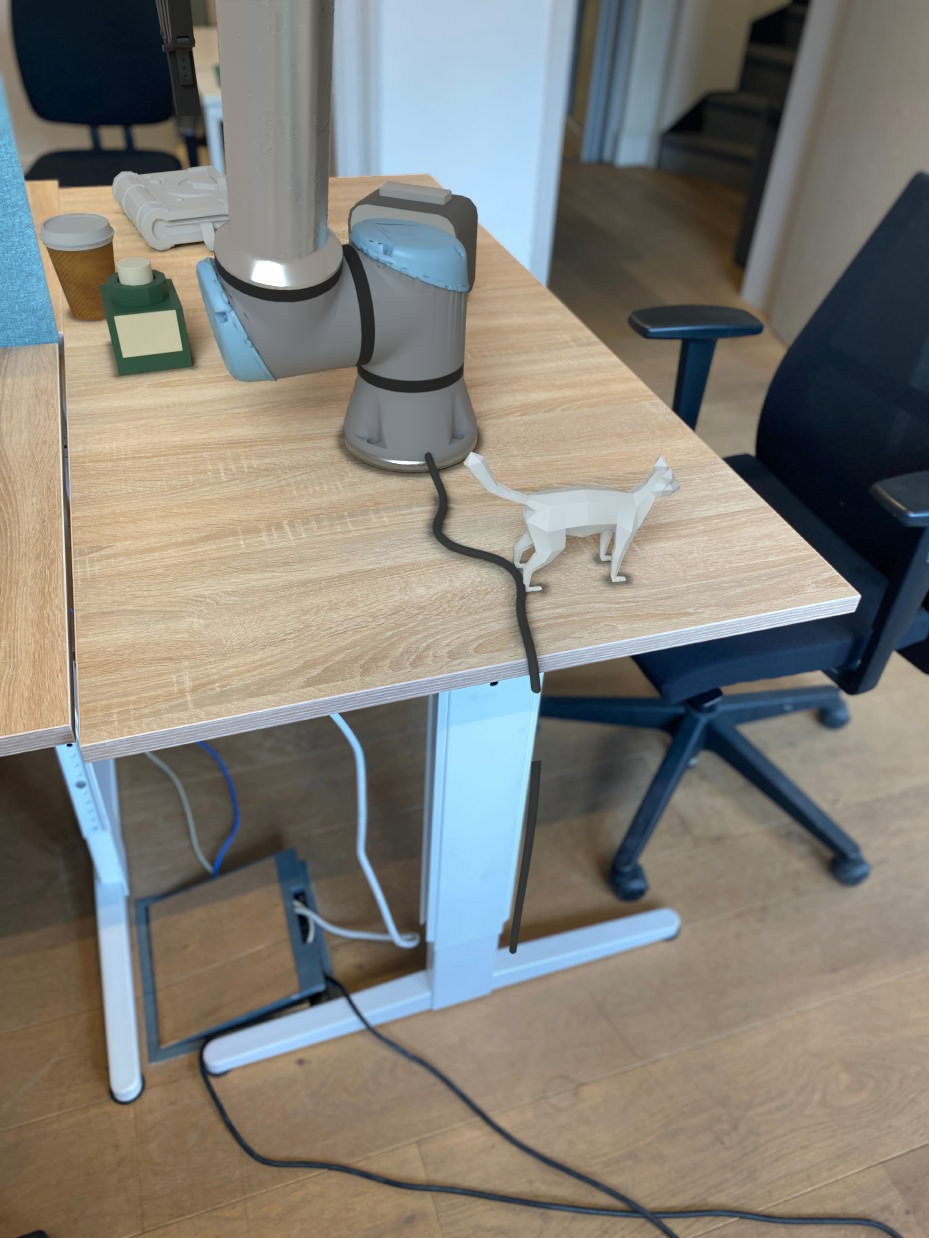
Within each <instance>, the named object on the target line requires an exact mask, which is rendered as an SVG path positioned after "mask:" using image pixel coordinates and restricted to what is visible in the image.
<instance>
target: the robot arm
mask: <svg viewBox="0 0 929 1238" xmlns="http://www.w3.org/2000/svg"><path fill="white" fill-rule="evenodd" d="M214 4H215V20H216V21H215V22H216V35H217V37H216V38H217V50H218V51H217V52H218V65H219V68H218V69H219V82H220V98H221V112H222V115H221V116H222V129H223V145H224V159H225V161H224V163H225V175H226V178H227V193H228V209H229V220H227V221H226V222H224V223H223V224H222V225H221V226H220V227H219V229H218V230H217V232H216V234H215V237H214V250H213V255H214V256H213V257H214V258H213V257H209V256H206V257H205V258H204V259H201V260H199V261H197V262H196V266H195V269H196V270H195V273H196V278H197V283H198V286H199V290H200V294H201V299H202V302H203V305H204V308H205V312H206V316H207V317H208V322H209V326H210V328H211V331H212V334H213V337H214V340H215V343H216V345H217V346H216V347H217V348H218V351H219V353H220V356H221V359H222V361H223V363H224V366H225V368H226V370H227V371H228V373H229V375H231V377H233V379H235V380H236V381H239V382H242V383H255V382H277V381H278V380H281V379H287V378H293V377H297V376H304V375H310V374H316V373H322V372H328V371H334V370H341V369H346V368H347V369H348V368H353V367H356V379H355V382H354V386H353V389H352V392H351V395H350V398H349V401H348V405H347V409H346V412H345V415H344V419H343V427H342V428H343V442H344V446H345V448H346V449H347V450H348V452H349V453H350V454H351V455H352V456H353V457H354V458H356V459H357V460H359V461H360V462H362V463H365V464H367V465H369V466H370V467H371V466H372V467H375V468H378V469H381V470H386V471H390V472H398V473H425V472H426V473H427V472H429V474H430V477H431V479H432V482H433V484H434V487H435V489H436V492H437V495H438V498H439V507H438V510H437V512H436V513H435V517H434V518H433V523H432V533H433V535H434V537H435V538H436V540H437V541H438V542H439V543H440V544H441V545H442V546H443V547H445V548H447V549H448V550H451V551H452V552H455V553H457V554H459V555H464V556H467V557H471V558H475V559H479V560H483V561H487V562H490V563H492V564H496V565H497V566H499V567H501V568H503V569H505V570H506V571H507V572H509V574H510V575H511V576H512V577H513V580H514V582H515V585H516V600H515V611H516V612H515V613H516V618H517V623H518V627H519V631H520V635H521V638H522V643H523V645H524V651H525V655H526V661H527V667H528V675H529V685H530V690H531V692H532V693H534V694H540V693H541V692H542V685H541V676H540V675H541V674H540V668H539V663H538V662H539V661H538V655H537V651H536V647H535V642H534V638H533V635H532V632H531V629H530V625H529V621H528V617H527V616H528V615H527V613H526V612H527V611H526V610H527V609H526V598H527V592H526V586H525V584H524V583H523V573H521V571H520V570H519V568H517V567H516V566H515V564H514V563H512V562H511V561H510V560H508V559H507V558H505V557H503V556H500V555H499V554H495V553H492V552H489V551H486V550H481V549H478V548H474V547H471V546H467V545H463V544H461V543H458V542H455V541H454V540H452V539H450V538H449V537H447V535H445V534H444V532H443V531H442V523H443V521H444V519H445V516H446V513H447V509H448V501H449V500H448V494H447V491H446V488H445V485H444V483H443V481H442V479H441V476H440V473H439V471H440V470H442V469H446V468H450V467H452V466H454V465H456V464H459V463H460V462H462V461H465V459H466V458H467V456H468V455H469V454H470V452H474V450H475V449H476V447H477V443H478V424H477V423H478V422H477V416H476V414H475V409H474V407H473V403H472V401H471V400H472V399H471V398H470V397H471V396H470V393H469V390H468V387H467V383H466V381H465V354H466V353H465V352H466V331H467V330H466V329H467V313H468V312H467V310H468V309H467V308H468V295H467V291H468V290H469V283H468V272H467V254H466V251H465V248H464V246H463V245H462V243H461V242H460V241H459V240H458V239H457V238H455V237H454V236H453V235H451V234H450V233H448V232H446V231H444V230H441V229H439V228H436V227H433V226H430V225H427V224H423V223H419V222H414V221H409V220H402V219H391V218H373V219H366V220H363V221H362V222H357V223H356V224H354V226H353V227H352V230H351V233H350V235H349V236H348V238H349V237H350V241H351V243H349V242H348V243H344V244H343V243H342V241H341V240H340V238H339V236H338V235H337V234H336V233H335V231H334V230H333V229H332V228H331V227H330V226H328V219H329V218H328V217H329V194H330V193H329V192H330V187H329V186H330V160H331V159H330V158H331V135H332V134H331V129H332V101H333V71H334V45H335V44H334V41H335V17H336V16H335V13H336V12H335V11H336V0H214ZM155 5H156V11H157V15H158V21H159V27H160V30H159V32H160V35H161V38H162V39H163V42H164V43H163V44H161V47H162V51H163V53H166V57H167V63H168V71H169V75H170V82H171V89H172V96H173V102H174V108H175V114H176V116H178V117H193V116H194V117H195V116H196V117H197V116H202V108H201V100H200V93H199V85H198V80H197V71H196V65H195V57H194V51H193V50H194V49H193V48H196V38H195V32H194V22H193V13H192V3H191V0H155ZM438 470H439V471H438ZM530 764H531V765H530V783H529V796H528V808H527V817H526V825H525V835H524V843H523V852H522V855H521V857H522V858H521V863H520V864H521V865H520V870H519V877H518V884H517V889H516V897H515V903H514V908H513V909H514V910H513V916H512V923H511V931H510V937H509V946H508V952H509V953H510V954H511V955H515V954H516V953H517V951H518V943H519V938H520V937H519V935H520V929H521V923H522V917H523V916H522V915H523V909H524V903H525V898H526V892H527V891H526V890H527V885H528V879H529V873H530V867H531V861H532V854H533V847H534V842H535V833H536V826H537V817H538V808H539V799H540V798H539V797H540V787H541V772H542V771H541V770H542V760H541V759H539V760H531V763H530Z"/></svg>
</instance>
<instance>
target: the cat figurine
mask: <svg viewBox="0 0 929 1238" xmlns="http://www.w3.org/2000/svg"><path fill="white" fill-rule="evenodd" d="M665 460H666V459H665V457H664V455H663V453H661V454H659V456H658V457H657V458H656V460H655V463H654V465H653V467H652V470H651V472H650V474H649V475H648V477H647V478H646V479H645V480H644V482H641V483H640V484H638V485H636V486H633V487H632V488H630V489H628V490H623V489H619V488H614V487H609V486H599V485H598V486H597V485H584V484H583V485H582V484H578V485H572V486H571V485H570V486H566V487H561V488H553V489H544V490H543V489H542V490H537V491H534V492H531V493H526V492H525V493H524V492H522V491H519V490H516V489H513V488H510V487H508V486H506V485H505V484H502V483H500V482H499V481H498V479H497V478H496V476H495V473H493V471H492V469H491V468H490V465H489V464H488V462H487V460H486V457H485V456H483V455H481V454H478V453H476V452H474V451H473V452H470V454H469V455H468V456H467V457H466V458H465V459H464V460H463V465H464V466H465V468H466V469H467V470H468V471H469V473H470V474H471V475H472V476H473V478H475V480H476V481H477V482H478V483H479V484H480V485H481V487H483V489H484V490H485V491H487V492H489V493H491V494H493V495H496V496H498V497H500V498H502V499H506V500H509V501H512V502H515V503H518V504H522V505H524V507H523V509H522V510H521V514H522V518H523V522H524V525H525V528H526V531H525V532H524V533H523V534H522V535H521V537H520V538H519V540H518V541H517V543H516V544H515V545H514V547H513V565H515V566H516V567H517V569H522V576H523V583H524V584H525V586H526V593H528V592H538V591H542V590H543V588H542V586H541V585H535V586H530V585H531V579H532V575H533V573H534V572H536V571H538V570H540V569H542V568H543V567H545V566H547V565H548V564H550V563H551V562H552V561H553V560H555V559H556V557H558V556H559V555H560V554H561V552H563V551H564V550H565V549H566V536H571V537H578V538H586V537H589V536H593V535H597V534H599V551H598V553H599V559H600V561H601V562H607V561H610V572H609V573H610V580H611V581H612V583H617V582H626V581H627V578H626V577H625V575H618V573H619V570H620V568H621V565H622V563H623V560H624V557H625V555H626V552H627V551H628V548H629V546H630V545H631V544H632V541H633V540H634V538H635V536H636V534H637V532H638V531H639V529H640V527H641V525H642V524H643V522H644V520H645V518H646V517H647V515H648V513H649V511H650V510H651V508H652V506H653V504H654V502H655V500H656V498H657V499H662V498H667V497H668V498H669V497H670V496H673V494H676V493H677V492H678V491H679V490H680V489H681V485H682V484H681V482H680V481H679V480H678V479H677V478H676V477H675V474H674V472H673V469H672V466H671V467H670V468H669V467H668V465H667V463H666V461H665ZM612 537H613V548H612V551H611V554H610V555H608V554H607V551H608V548H609V546H610V543H611V540H612ZM532 547H534V550H535V551H534V553H533V554H532V555H531V557H530V558H529V559H528V561H527V562H524V563H520V562H521V559H522V555H523V553H524V552H525V551H527V550H528V549H531V548H532Z"/></svg>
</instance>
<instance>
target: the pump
mask: <svg viewBox="0 0 929 1238" xmlns="http://www.w3.org/2000/svg"><path fill="white" fill-rule="evenodd" d="M115 267H116V272H118V276H119V281H120V283H121V284H123V285H132V286H135V285H144V284H147V283H151V282H152V281H154V279H153V274H152V269H153V268H152V264H151V260H150V259H149V258H148V257H147V258H146V257H144V256H143V257H142V256H129V257H124V258H121V259H119V260H117V261H116V262H115Z"/></svg>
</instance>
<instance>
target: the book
mask: <svg viewBox="0 0 929 1238" xmlns="http://www.w3.org/2000/svg"><path fill="white" fill-rule="evenodd" d="M111 194H112V197H113V199H114V201H115V202H116V204H117V206H119V208H120V209H121V210H122V211H123V212H124V214H125V215H126V216H127V218H128V219H129V221H131V222H132V224H133V225H134V226H135V228H136V229H137V231H138V232H139V233H140V235H141V236H142V237H143V240H144V241H145V242H146V243H147V245H148V246H149V247H151V248H153V249H155V250H157V251H160V252H161V251H165V250H170V249H171V248H172V247H175V245H179V244H181V245H182V244H187V243H188V244H189V243H196V242H204V245H205V247H206V248H207V249H208V250H209V251H214V237H215V234H216V232H217V230H218V229H219V227H220V226H221V225H222V224H223V223H224V222H226V221H227V220H229V209H228V193H227V178H226V174H224V175H223V174H222V173H220V172H219V170H218V169H217V168H216V167H215V166H214V165H200V166H192V167H186V169H179V170H170V171H162V172H160V171H159V172H152V173H144V174H143V173H141V174H138V173H137V172H133V171H131V170H129V171H127V170H125V171H120V173H118V174H117V175H116V176H115V177H113V181H112V186H111Z"/></svg>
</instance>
